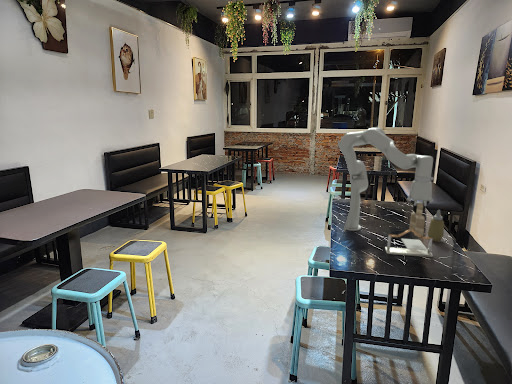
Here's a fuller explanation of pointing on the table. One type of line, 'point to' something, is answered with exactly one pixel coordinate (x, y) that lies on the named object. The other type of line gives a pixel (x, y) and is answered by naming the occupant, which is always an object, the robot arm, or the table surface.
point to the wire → (409, 251)
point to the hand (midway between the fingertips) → (418, 212)
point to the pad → (413, 244)
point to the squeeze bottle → (436, 227)
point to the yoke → (417, 220)
